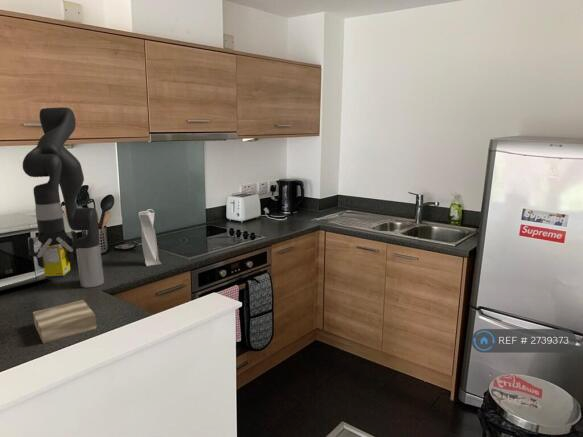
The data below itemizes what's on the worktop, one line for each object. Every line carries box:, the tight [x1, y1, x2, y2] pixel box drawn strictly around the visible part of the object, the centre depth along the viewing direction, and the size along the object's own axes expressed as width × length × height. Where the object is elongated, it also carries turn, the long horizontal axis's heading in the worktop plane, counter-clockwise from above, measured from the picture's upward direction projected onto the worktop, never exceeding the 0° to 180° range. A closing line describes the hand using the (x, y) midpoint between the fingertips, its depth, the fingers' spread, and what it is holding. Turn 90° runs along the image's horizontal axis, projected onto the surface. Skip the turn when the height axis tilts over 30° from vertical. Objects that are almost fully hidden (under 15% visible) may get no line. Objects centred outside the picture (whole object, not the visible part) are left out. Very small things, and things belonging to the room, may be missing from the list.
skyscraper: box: [138, 208, 162, 267], centre depth 210 cm, size 8×8×28 cm
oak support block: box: [32, 299, 98, 344], centre depth 148 cm, size 16×16×5 cm
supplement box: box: [39, 240, 71, 279], centre depth 143 cm, size 6×6×11 cm
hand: (56, 264), depth 143 cm, fingers closed on supplement box, 8 cm apart
